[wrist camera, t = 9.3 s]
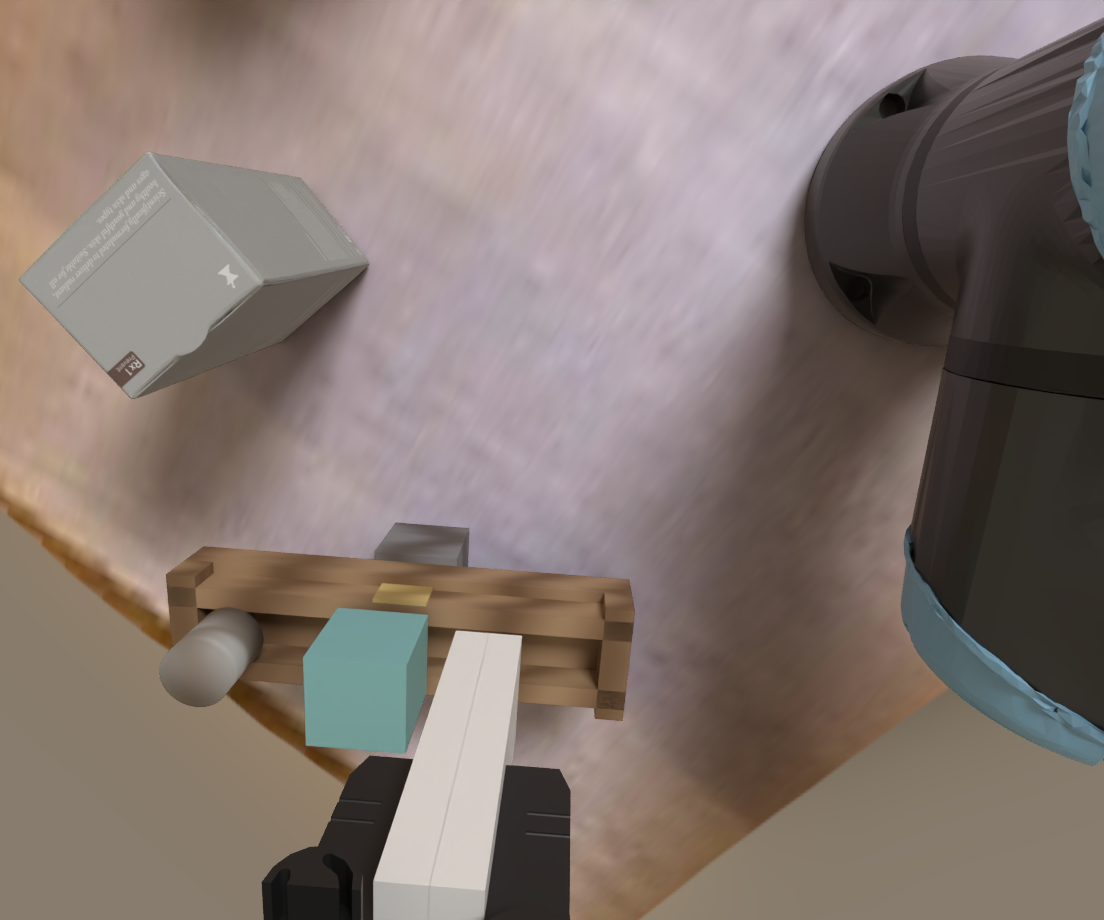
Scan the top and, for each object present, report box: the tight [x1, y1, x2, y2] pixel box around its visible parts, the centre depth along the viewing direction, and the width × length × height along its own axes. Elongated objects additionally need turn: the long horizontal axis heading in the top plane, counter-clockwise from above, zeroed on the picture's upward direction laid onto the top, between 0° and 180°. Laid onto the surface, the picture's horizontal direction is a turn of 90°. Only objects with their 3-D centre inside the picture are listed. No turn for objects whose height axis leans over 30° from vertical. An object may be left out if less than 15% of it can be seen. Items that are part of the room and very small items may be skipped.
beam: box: [159, 523, 635, 721], centre depth 41 cm, size 26×8×13 cm, turn 86°
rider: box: [303, 608, 428, 754], centre depth 37 cm, size 5×5×7 cm
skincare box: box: [19, 152, 369, 399], centre depth 34 cm, size 8×7×16 cm
